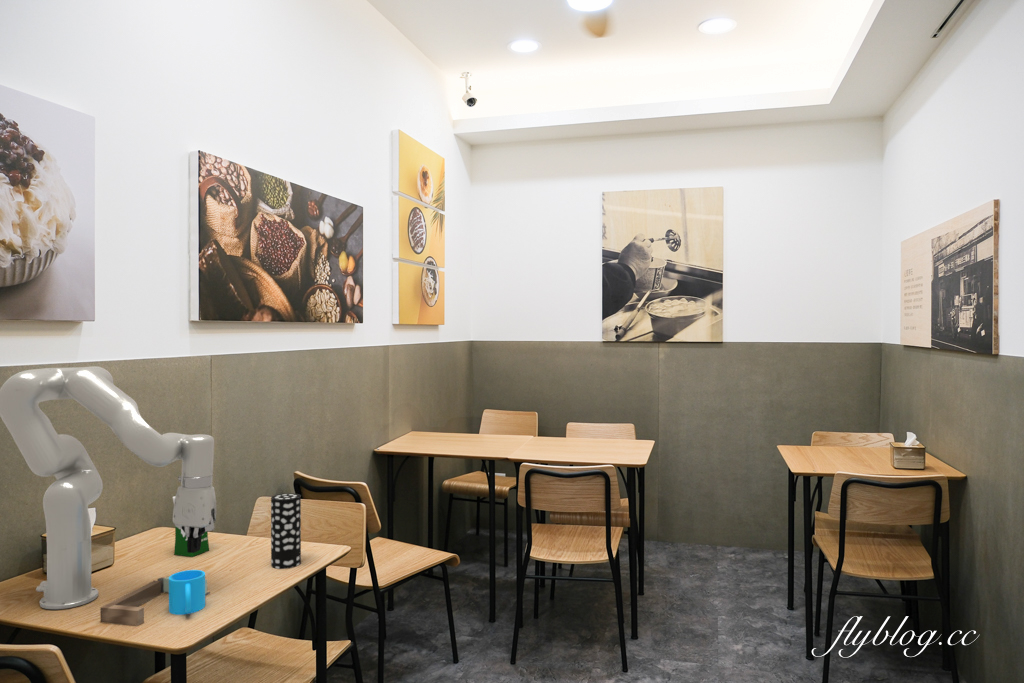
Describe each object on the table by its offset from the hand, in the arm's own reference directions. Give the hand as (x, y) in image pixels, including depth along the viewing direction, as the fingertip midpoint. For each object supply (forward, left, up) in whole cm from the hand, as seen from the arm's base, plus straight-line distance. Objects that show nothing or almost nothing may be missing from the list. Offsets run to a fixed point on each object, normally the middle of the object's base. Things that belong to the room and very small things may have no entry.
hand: (193, 551), depth 181 cm
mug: (+7, -12, -11) cm, 17 cm away
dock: (-2, -11, -11) cm, 15 cm away
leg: (-1, -2, -10) cm, 10 cm away
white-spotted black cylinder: (+13, +24, -11) cm, 30 cm away
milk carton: (-21, +28, -11) cm, 37 cm away
